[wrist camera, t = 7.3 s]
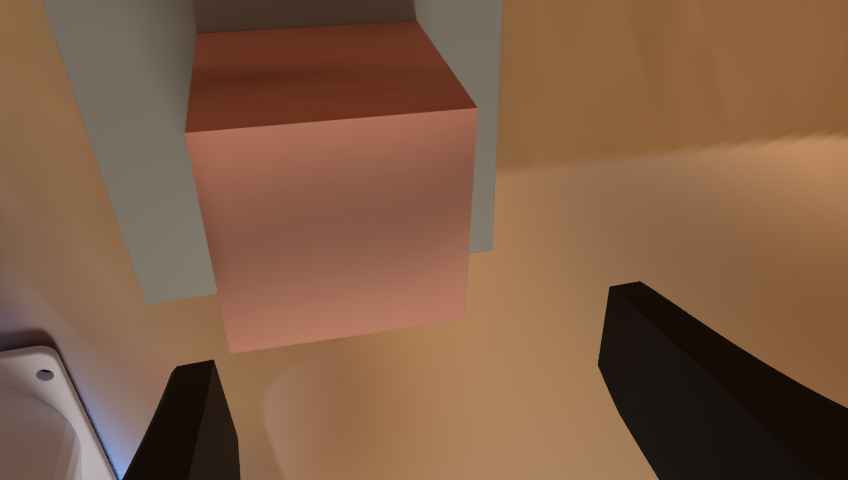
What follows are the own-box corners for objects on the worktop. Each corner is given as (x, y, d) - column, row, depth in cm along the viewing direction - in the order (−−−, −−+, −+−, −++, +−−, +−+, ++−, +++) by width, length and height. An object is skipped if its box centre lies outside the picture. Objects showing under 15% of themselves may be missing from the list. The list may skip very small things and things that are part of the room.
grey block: (461, 191, 23) (492, 249, 21) (157, 234, 22) (146, 304, 19) (464, -142, 18) (507, -122, 15) (49, -118, 16) (10, -91, 13)
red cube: (415, 201, 19) (464, 319, 15) (230, 221, 18) (230, 353, 14) (416, 20, 16) (478, 108, 12) (196, 33, 15) (184, 132, 11)
